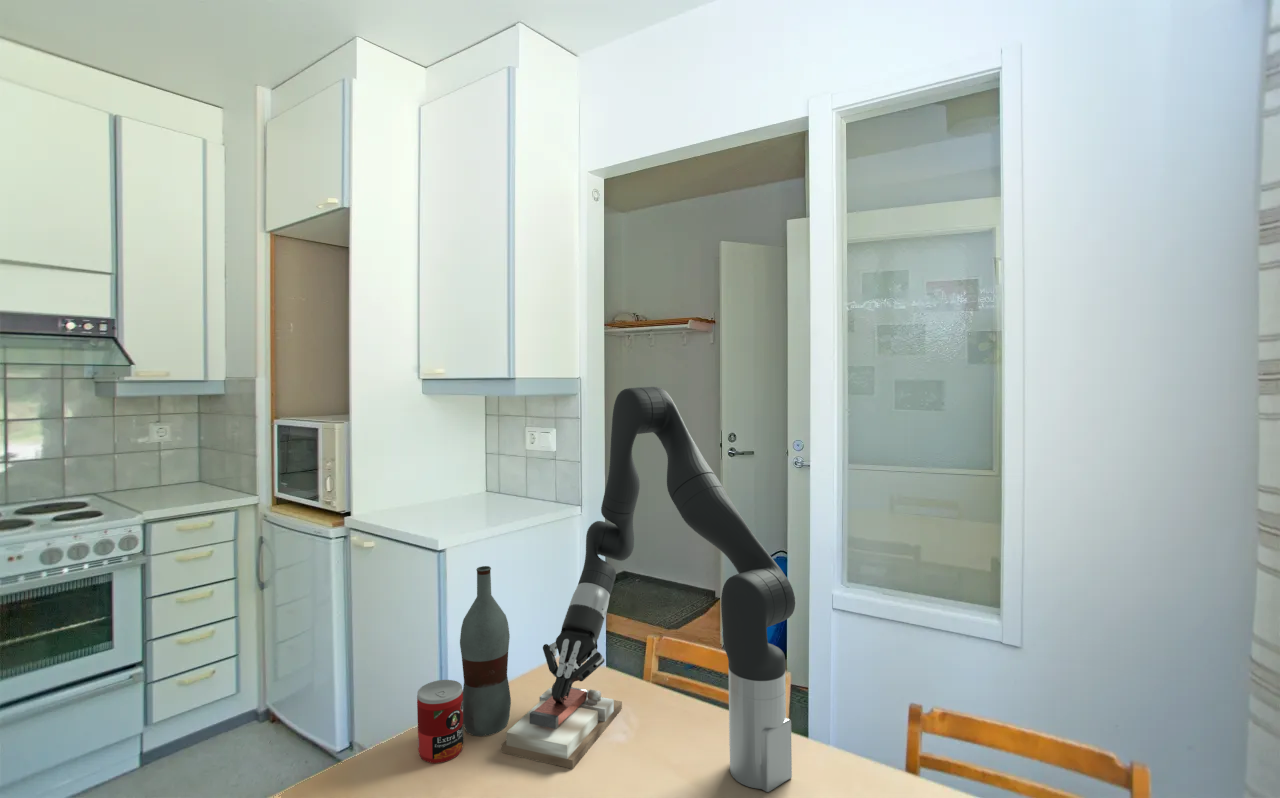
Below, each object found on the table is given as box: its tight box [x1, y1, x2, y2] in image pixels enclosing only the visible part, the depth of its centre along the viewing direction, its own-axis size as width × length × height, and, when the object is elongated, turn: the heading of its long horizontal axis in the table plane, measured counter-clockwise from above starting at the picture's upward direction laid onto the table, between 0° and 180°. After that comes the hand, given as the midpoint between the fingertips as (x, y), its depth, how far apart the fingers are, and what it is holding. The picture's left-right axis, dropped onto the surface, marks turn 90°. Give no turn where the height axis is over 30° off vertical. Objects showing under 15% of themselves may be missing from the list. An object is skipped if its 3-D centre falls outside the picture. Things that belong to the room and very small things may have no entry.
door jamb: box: [501, 682, 623, 770], centre depth 117 cm, size 21×14×6 cm, turn 159°
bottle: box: [459, 565, 512, 737], centre depth 119 cm, size 9×9×30 cm
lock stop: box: [530, 686, 590, 729], centre depth 116 cm, size 2×5×14 cm
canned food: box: [416, 679, 465, 764], centre depth 111 cm, size 8×8×11 cm
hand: (558, 701), depth 115 cm, fingers closed
